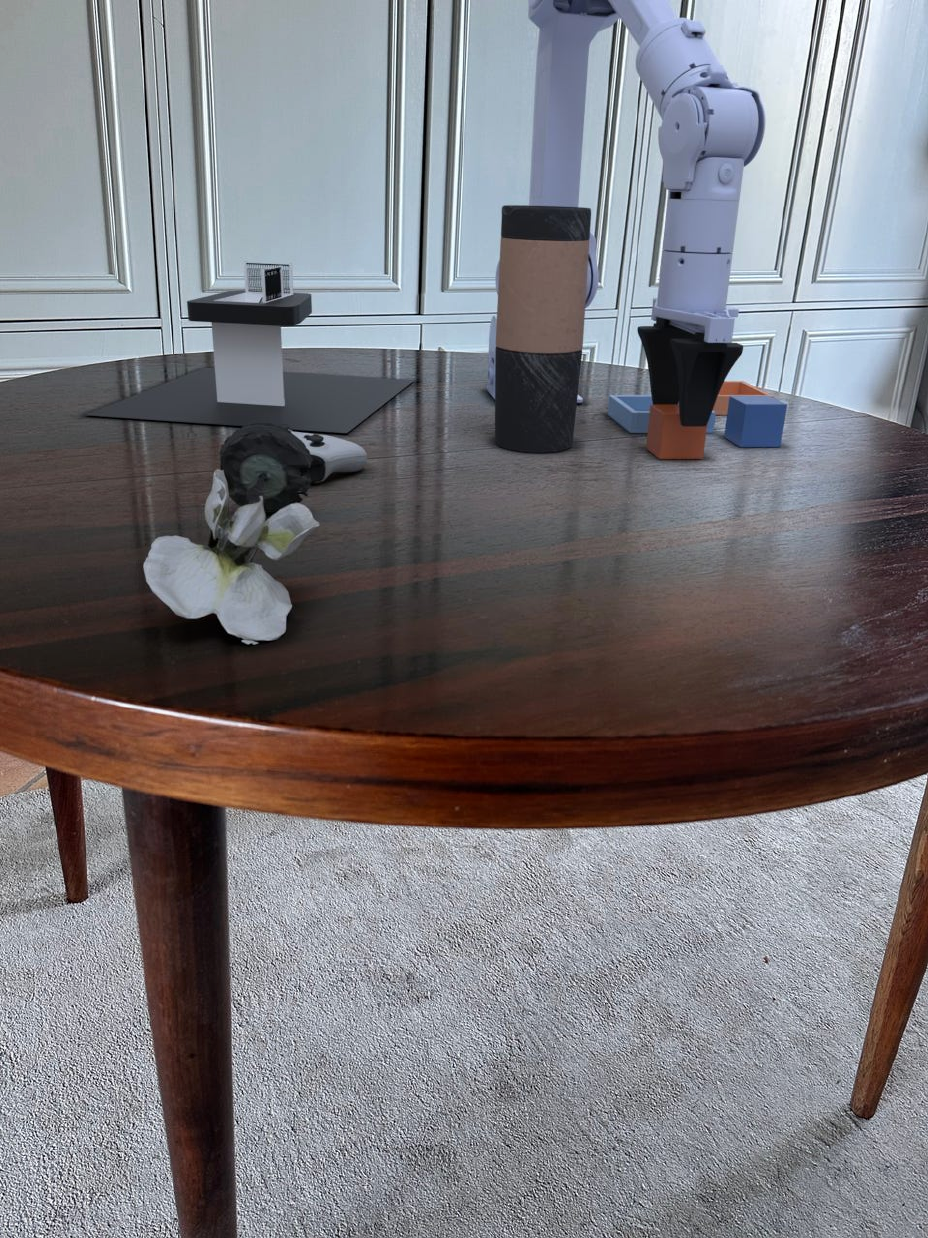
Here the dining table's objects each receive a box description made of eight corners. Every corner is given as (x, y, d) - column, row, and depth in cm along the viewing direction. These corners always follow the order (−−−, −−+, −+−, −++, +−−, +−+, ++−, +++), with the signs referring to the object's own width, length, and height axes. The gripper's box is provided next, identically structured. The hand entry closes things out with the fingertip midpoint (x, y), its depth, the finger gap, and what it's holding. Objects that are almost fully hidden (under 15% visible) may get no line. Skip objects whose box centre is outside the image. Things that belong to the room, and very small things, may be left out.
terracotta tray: (696, 414, 104) (698, 395, 103) (670, 398, 111) (672, 380, 111) (771, 414, 105) (774, 395, 104) (741, 398, 113) (743, 380, 112)
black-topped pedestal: (346, 434, 92) (343, 282, 86) (84, 416, 96) (65, 270, 90) (414, 381, 117) (415, 261, 111) (204, 368, 121) (195, 252, 115)
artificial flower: (336, 528, 71) (370, 399, 66) (263, 713, 52) (304, 551, 47) (213, 491, 70) (239, 358, 65) (93, 666, 51) (116, 495, 46)
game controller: (373, 455, 81) (350, 414, 76) (355, 513, 79) (330, 475, 74) (269, 443, 84) (239, 402, 78) (248, 498, 82) (217, 460, 77)
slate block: (739, 447, 91) (745, 404, 90) (723, 437, 95) (729, 395, 93) (780, 447, 92) (787, 404, 90) (763, 436, 95) (769, 395, 94)
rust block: (659, 459, 86) (664, 413, 85) (645, 448, 90) (650, 404, 88) (703, 459, 87) (709, 413, 85) (687, 447, 91) (692, 404, 89)
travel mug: (586, 439, 92) (604, 207, 84) (558, 458, 86) (575, 208, 78) (510, 429, 95) (521, 204, 87) (478, 446, 89) (486, 205, 81)
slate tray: (630, 433, 95) (632, 412, 95) (607, 414, 103) (608, 394, 102) (713, 432, 97) (716, 412, 96) (684, 414, 104) (686, 395, 103)
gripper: (780, 258, 76) (755, 434, 81) (711, 247, 89) (693, 399, 94) (692, 256, 75) (672, 435, 80) (635, 245, 88) (621, 399, 93)
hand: (678, 415), depth 87 cm, fingers open, 7 cm apart
